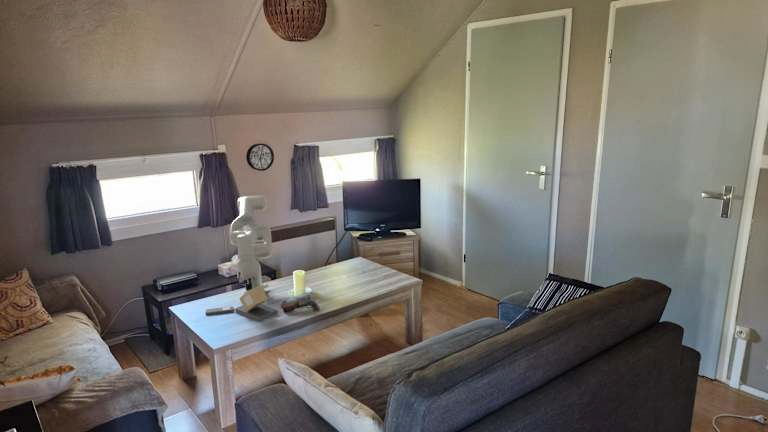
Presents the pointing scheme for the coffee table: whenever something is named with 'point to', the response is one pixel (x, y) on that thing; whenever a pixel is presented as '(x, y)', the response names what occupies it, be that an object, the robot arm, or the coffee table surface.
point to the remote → (219, 310)
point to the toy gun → (299, 304)
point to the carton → (253, 298)
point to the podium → (258, 312)
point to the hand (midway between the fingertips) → (249, 290)
